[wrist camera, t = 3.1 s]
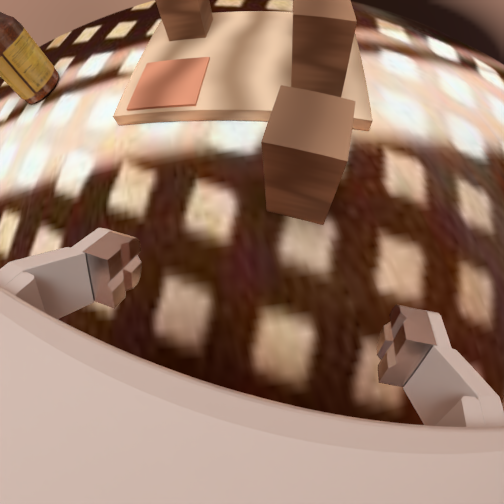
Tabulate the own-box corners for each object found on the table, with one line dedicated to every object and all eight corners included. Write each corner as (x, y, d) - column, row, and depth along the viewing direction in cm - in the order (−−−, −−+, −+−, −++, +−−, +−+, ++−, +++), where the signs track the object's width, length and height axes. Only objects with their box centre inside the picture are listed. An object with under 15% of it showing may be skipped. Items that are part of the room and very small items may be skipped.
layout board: (349, 27, 30) (360, -40, 20) (368, 130, 25) (400, 42, 15) (165, 26, 32) (144, -34, 22) (119, 125, 28) (71, 53, 17)
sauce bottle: (61, 67, 32) (1, -26, 13) (60, 89, 31) (-13, -13, 12) (27, 90, 32) (-39, 7, 13) (23, 115, 30) (-55, 25, 11)
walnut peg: (332, 175, 24) (355, 101, 16) (323, 224, 23) (347, 161, 15) (280, 163, 25) (280, 85, 16) (266, 211, 24) (261, 142, 15)
